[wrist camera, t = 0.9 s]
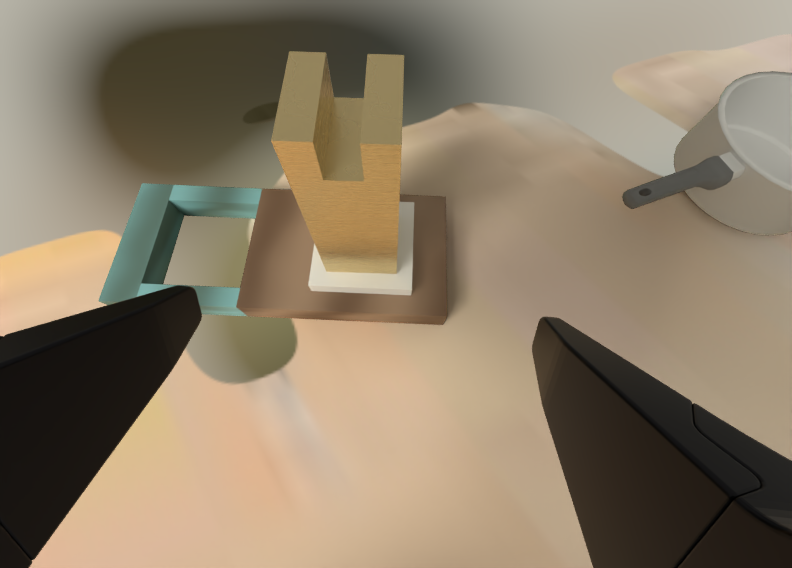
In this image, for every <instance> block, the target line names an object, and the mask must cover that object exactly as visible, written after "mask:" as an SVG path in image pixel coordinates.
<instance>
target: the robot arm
mask: <svg viewBox="0 0 792 568" xmlns="http://www.w3.org/2000/svg"><path fill="white" fill-rule="evenodd" d="M201 317H202V313H201V309H200V305H199V301H198V297H197V293H196V290H195V289H194V288H193V287H191V286H181V285H177V286H173V287H169V288H166V289H162V290H159V291H155V292H152V293H148V294H145V295H141V296H138V297H134V298H131V299H128V300H124V301H121V302H117V303H114V304H110V305H107V306H103V307H100V308H96V309H93V310H89V311H86V312H83V313H79V314H76V315H72V316H69V317H65V318H62V319H58V320H55V321H51V322H48V323H45V324H41V325H38V326H34V327H31V328H27V329H24V330H20V331H17V332H13V333H10V334H7V335H5V336H4V337H3V336H0V568H29V567H30V565H31V564H32V560H34V559H35V558H36V556H37V555H38V554H39V552H40V551H41V550H42V548H43V547H44V545H45V544H46V543H47V541H48V540H49V539H50V537H51V536H52V535H53V533H54V532H55V530H56V529H57V528H58V526H59V525H60V524H61V522H62V521H63V519H64V518H65V517H66V515H67V514H68V513H69V511H70V510H71V508H72V507H73V506H74V504H75V503H76V502H77V500H78V499H79V497H80V496H81V495H82V493H83V492H84V491H85V489H86V488H87V486H88V485H89V484H90V482H91V481H92V480H93V478H94V477H95V475H96V474H97V473H98V471H99V470H100V469H101V467H102V466H103V464H104V463H105V462H106V460H107V459H108V458H109V456H110V455H111V454H112V452H113V451H114V449H115V448H116V447H117V445H118V444H119V443H120V441H121V440H122V438H123V437H124V436H125V434H126V433H127V432H128V430H129V429H130V427H131V426H132V425H133V423H134V422H135V421H136V419H137V418H138V416H139V415H140V414H141V412H142V411H143V410H144V408H145V407H146V405H147V404H148V403H149V401H150V400H151V399H152V397H153V396H154V394H155V393H156V392H157V390H158V389H159V388H160V386H161V385H162V383H163V382H164V381H165V379H166V378H167V377H168V375H169V374H170V372H171V371H172V369H173V368H174V366H175V365H176V363H177V361H178V360H179V358H180V356H181V355H182V353H183V351H184V349H185V348H186V346H187V344H188V342H189V341H190V339H191V337H192V335H193V334H194V332H195V330H196V329H197V327H198V325H199V323H200V321H201ZM532 353H533V358H534V364H535V369H536V374H537V380H538V385H539V391H540V396H541V401H542V405H543V409H544V412H545V416H546V419H547V422H548V425H549V428H550V432H551V435H552V438H553V441H554V444H555V447H556V451H557V454H558V457H559V460H560V463H561V466H562V470H563V473H564V476H565V479H566V482H567V486H568V489H569V492H570V495H571V498H572V501H573V505H574V508H575V511H576V514H577V517H578V520H579V524H580V527H581V530H582V533H583V536H584V539H585V543H586V546H587V549H588V552H589V555H590V558H591V562H592V565H593V568H792V461H791V460H789V459H787V458H786V457H784V456H782V455H780V454H779V453H777V452H775V451H773V450H772V449H770V448H768V447H767V446H765V445H763V444H761V443H760V442H758V441H756V440H754V439H753V438H751V437H749V436H748V435H746V434H744V433H742V432H741V431H739V430H738V429H736V428H734V427H733V426H731V425H729V424H728V423H726V422H724V421H723V420H721V419H719V418H718V417H716V416H715V415H713V414H711V413H710V412H708V411H707V410H705V409H703V408H702V407H700V406H699V405H697V404H695V403H694V404H692V402H691V401H690V400H689V399H687V398H686V397H684V396H683V395H681V394H679V393H678V392H676V391H675V390H673V389H671V388H670V387H668V386H667V385H665V384H663V383H662V382H660V381H659V380H657V379H655V378H654V377H652V376H651V375H649V374H647V373H646V372H644V371H643V370H641V369H639V368H638V367H636V366H635V365H633V364H631V363H630V362H628V361H627V360H625V359H623V358H622V357H620V356H619V355H617V354H615V353H614V352H612V351H611V350H609V349H607V348H606V347H604V346H603V345H601V344H600V343H598V342H596V341H595V340H593V339H592V338H590V337H588V336H587V335H585V334H584V333H582V332H580V331H579V330H577V329H576V328H574V327H572V326H571V325H569V324H568V323H566V322H564V321H563V320H561V319H559V318H554V317H542V318H541V319H540V321H539V323H538V327H537V330H536V334H535V337H534V341H533V345H532Z"/></svg>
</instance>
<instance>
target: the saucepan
mask: <svg viewBox="0 0 792 568" xmlns="http://www.w3.org/2000/svg"><path fill="white" fill-rule="evenodd" d="M674 167H675V171H676V173H674V174H671V175H668V176H665V177H662V178H660V179H657V180H654V181H651V182H649V183H646V184H643V185H640V186H637V187H635V188H632V189H629V190H627V191H626V192H624V194H623V196H622V198H623V202H624V204H625V205H626V206H628V207H629V208H631V209H634V208H637V207H640V206H642V205H645V204H648V203H651V202H654V201H657V200H659V199H662V198H665V197H668V196H671V195H674V194H676V193H679V192H682V191H685V192H686V193H687V195H688V196H689V197H690V198H691V199H692V200H693V201H694V202H695V203H696V205H697V206H698V207H699V208H701V209H702V210H703V211H705V212H706V213H707V214H709V215H710V216H711V217H713V218H715V219H716V220H718V221H720V222H722V223H723V224H725V225H728V226H730V227H733V228H735V229H738V230H740V231H744V232H748V233H752V234H759V235H782V234H786V233H789V232H792V73H786V72H774V71H772V72H758V73H753V74H749V75H745V76H743V77H741V78H739V79H736V80H735V81H733V82H732V83H731V84H730V85H728V86H727V87H726V89H725V90H724V92H723V93H722V95H721V96H720V100H719V103H718V104H717V105H716V106H715V107H714V108H713V109H712V110H711V111H710V112H709V113H708V114H707V115H706V116H705V117H704V118H703V119H702V120H701V121H700V122H699V123H698V124H697V125H696V126H695V127H693V128H692V129H691V130H690V131H689V132H688V133H687V134H686V135H685V137H683V138H682V140H681V141H680V143H679V144H678V146H677V148H676V151H675V154H674Z"/></svg>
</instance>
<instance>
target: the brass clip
mask: <svg viewBox="0 0 792 568" xmlns="http://www.w3.org/2000/svg"><path fill="white" fill-rule="evenodd" d="M403 73H404V55H382V54H368V55H367V67H366V79H365V91H364V98H334V96H333V90H332V85H331V79H330V73H329V67H328V62H327V56H326V53H321V52H291V51H290V52H289V56H288V61H287V66H286V71H285V76H284V80H283V85H282V90H281V95H280V100H279V105H278V110H277V115H276V120H275V125H274V130H273V135H272V139H271V142H272V144H273V146H274V149H275V151H276V153H277V156H278V158H279V160H280V163H281V165H282V168H283V170H284V172H285V175H286V177H287V179H288V182H289V184H290V187H291V189H292V191H293V194H294V196H295V198H296V201H297V203H298V206H299V208H300V210H301V213H302V215H303V217H304V220H305V222H306V224H307V227H308V229H309V232H310V234H311V236H312V239H313V241H314V243H315V246H316V248H317V251H318V253H319V255H320V258H321V260H322V262H323V265H324V267H325V270H326V272H351V273H383V274H397V250H398V224H399V198H400V172H401V145H402V110H403V75H404V74H403Z"/></svg>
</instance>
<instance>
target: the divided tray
mask: <svg viewBox="0 0 792 568" xmlns="http://www.w3.org/2000/svg"><path fill="white" fill-rule="evenodd" d="M184 215H187V216H209V217H232V218H254V219H255V223H254V227H253V232H252V237H251V241H250V246H249V250H248V255H247V259H246V264H245V268H244V273H243V278H242V283H241V287H240V288H232V287H230V288H229V287H209V286H208V287H207V286H191V287H193V288H194V289H195V290H196V293H197V297H198V301H199V305H200V309H201V313H202V314H211V315H212V314H213V315H233V316H257V317H280V318H301V319H323V320H346V321H368V322H391V323H413V324H436V325H443V323H444V321H445V319H446V318H447V270H446V197H442V196H419V195H400V198H399V224H398V250H397V274H383V273H351V272H326V270H325V267H324V265H323V262H322V260H321V258H320V255H319V253H318V251H317V248H316V246H315V243H314V241H313V239H312V236H311V234H310V232H309V229H308V227H307V224H306V222H305V220H304V217H303V215H302V213H301V210H300V208H299V206H298V203H297V201H296V198H295V196H294V194H293V191H292V190H280V189H257V188H234V187H211V186H187V185H186V186H185V185H164V184H142V185H141V188H140V191H139V193H138V196H137V199H136V202H135V204H134V207H133V210H132V212H131V215H130V218H129V220H128V223H127V226H126V228H125V231H124V234H123V236H122V239H121V242H120V244H119V247H118V250H117V252H116V255H115V258H114V260H113V263H112V266H111V268H110V271H109V274H108V276H107V279H106V282H105V284H104V287H103V290H102V293H101V295H100V298H99V302H102V303H104V304H107V305H110V304H114V303H117V302H121V301H124V300H128V299H131V298H134V297H138V296H141V295H145V294H148V293H152V292H155V291H159V290H162V289H166V288H169V287H173V286H177V285H164V284H163V283H164V279H165V276H166V272H167V270H168V266H169V263H170V260H171V257H172V253H173V250H174V246H175V244H176V240H177V237H178V234H179V230H180V227H181V224H182V220H183V217H184ZM181 286H187V285H181Z"/></svg>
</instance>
